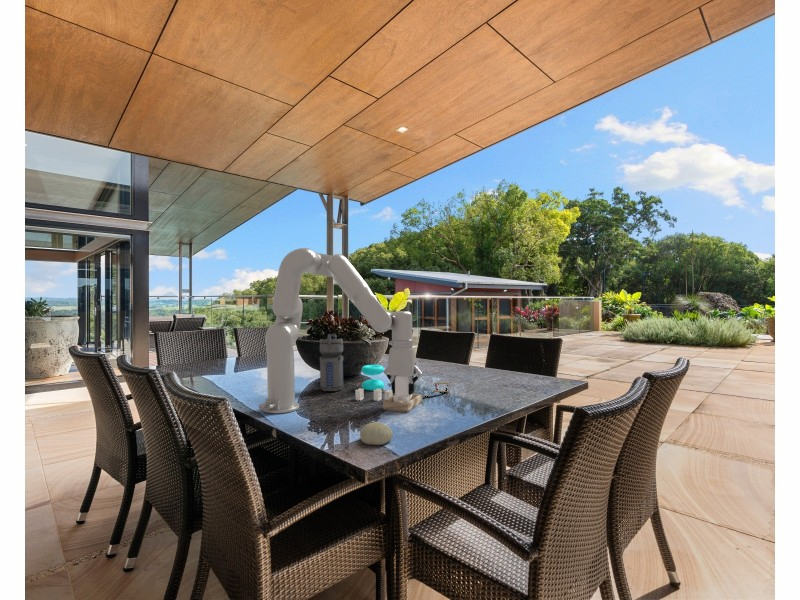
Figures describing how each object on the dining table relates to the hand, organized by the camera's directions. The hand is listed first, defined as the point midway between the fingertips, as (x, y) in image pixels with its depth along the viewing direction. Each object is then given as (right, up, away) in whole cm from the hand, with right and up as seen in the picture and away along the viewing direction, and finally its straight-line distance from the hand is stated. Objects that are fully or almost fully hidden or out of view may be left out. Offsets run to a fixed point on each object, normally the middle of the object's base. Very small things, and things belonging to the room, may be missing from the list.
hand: (402, 392), depth 150 cm
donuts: (-13, -5, +30) cm, 33 cm away
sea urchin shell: (-8, -6, -36) cm, 38 cm away
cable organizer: (0, -3, 0) cm, 3 cm away
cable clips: (-11, -5, +9) cm, 15 cm away
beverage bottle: (-31, -5, +29) cm, 43 cm away
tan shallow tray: (0, -5, 0) cm, 5 cm away
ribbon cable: (+6, -5, +23) cm, 24 cm away
